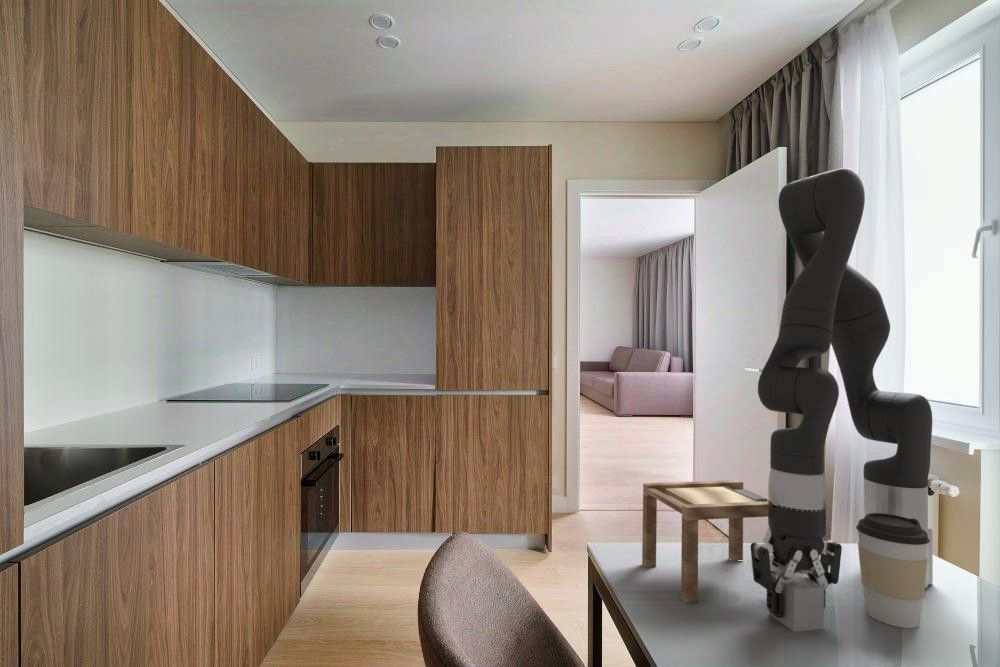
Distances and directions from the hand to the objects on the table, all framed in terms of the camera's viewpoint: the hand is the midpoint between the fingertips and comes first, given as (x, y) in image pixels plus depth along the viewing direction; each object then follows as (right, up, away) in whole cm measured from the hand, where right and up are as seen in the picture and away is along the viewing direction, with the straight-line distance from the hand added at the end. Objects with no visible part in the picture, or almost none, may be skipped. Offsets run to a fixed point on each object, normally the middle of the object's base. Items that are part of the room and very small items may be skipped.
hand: (795, 613), depth 77 cm
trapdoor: (-5, +10, +14) cm, 19 cm away
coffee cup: (+16, -2, +2) cm, 16 cm away
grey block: (0, -1, 0) cm, 1 cm away
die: (+12, -2, +23) cm, 26 cm away
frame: (-6, -1, +14) cm, 15 cm away
